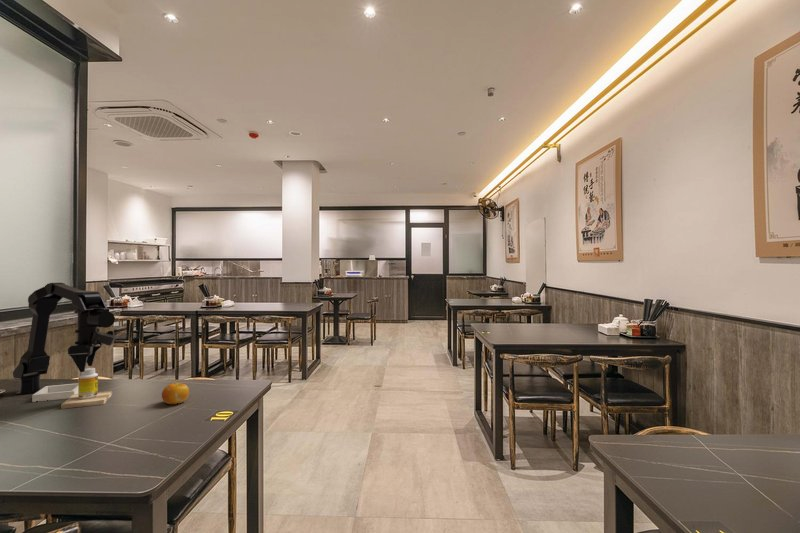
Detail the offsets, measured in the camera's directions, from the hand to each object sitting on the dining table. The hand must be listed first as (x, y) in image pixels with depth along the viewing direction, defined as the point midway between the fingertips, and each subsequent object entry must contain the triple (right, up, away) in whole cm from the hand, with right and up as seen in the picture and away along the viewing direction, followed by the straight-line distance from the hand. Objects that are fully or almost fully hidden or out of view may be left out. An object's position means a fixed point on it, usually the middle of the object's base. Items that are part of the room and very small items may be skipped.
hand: (86, 368), depth 143 cm
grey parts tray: (-16, -12, +7) cm, 21 cm away
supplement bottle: (+1, -11, 0) cm, 11 cm away
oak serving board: (+1, -12, 0) cm, 12 cm away
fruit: (+33, -12, -1) cm, 35 cm away
